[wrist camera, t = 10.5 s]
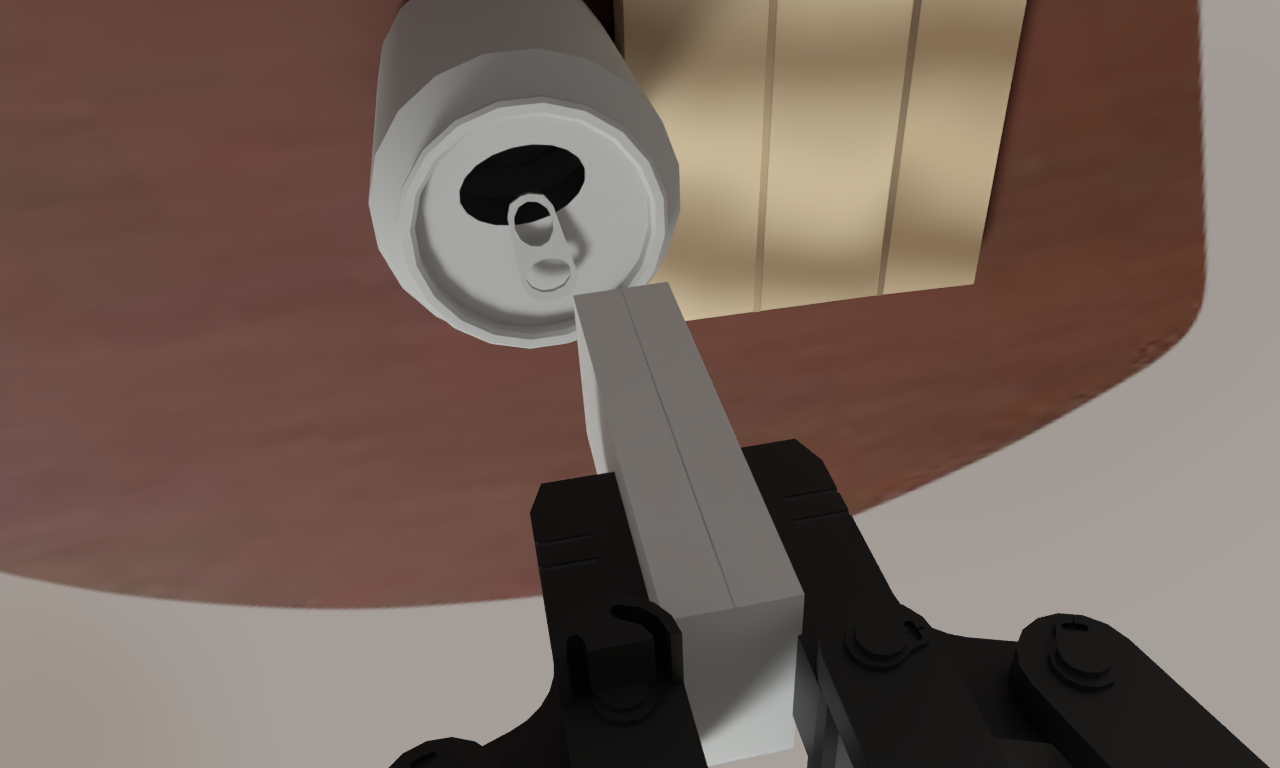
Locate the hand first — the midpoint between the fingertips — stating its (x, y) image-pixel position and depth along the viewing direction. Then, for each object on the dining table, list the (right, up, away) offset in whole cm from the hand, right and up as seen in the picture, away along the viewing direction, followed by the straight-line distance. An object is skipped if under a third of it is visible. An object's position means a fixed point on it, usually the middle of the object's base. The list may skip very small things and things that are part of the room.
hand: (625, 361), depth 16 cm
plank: (+4, +11, +17) cm, 21 cm away
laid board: (+11, +12, +18) cm, 24 cm away
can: (-4, +10, +17) cm, 20 cm away
